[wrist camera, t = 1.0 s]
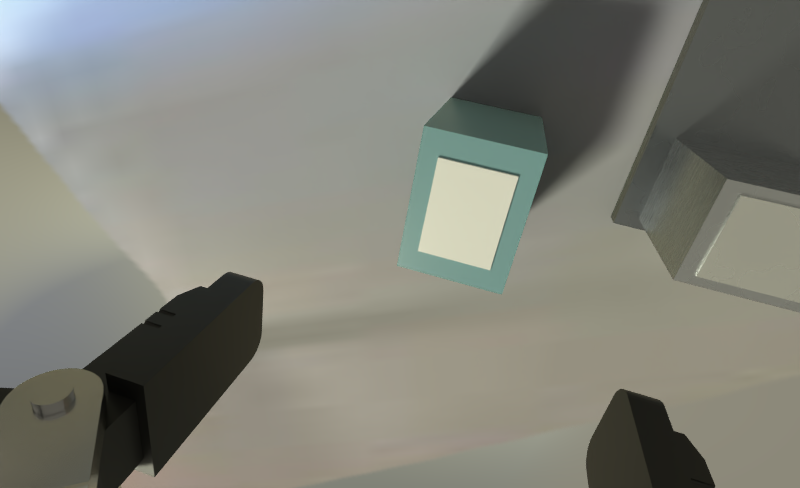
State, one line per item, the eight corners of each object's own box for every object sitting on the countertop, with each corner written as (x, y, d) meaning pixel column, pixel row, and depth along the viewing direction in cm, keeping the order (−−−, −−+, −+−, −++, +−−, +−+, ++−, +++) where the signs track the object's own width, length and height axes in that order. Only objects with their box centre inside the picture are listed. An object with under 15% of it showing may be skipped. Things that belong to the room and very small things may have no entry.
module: (451, 97, 23) (423, 126, 17) (541, 117, 22) (548, 155, 16) (427, 206, 26) (396, 266, 19) (507, 227, 25) (501, 295, 19)
